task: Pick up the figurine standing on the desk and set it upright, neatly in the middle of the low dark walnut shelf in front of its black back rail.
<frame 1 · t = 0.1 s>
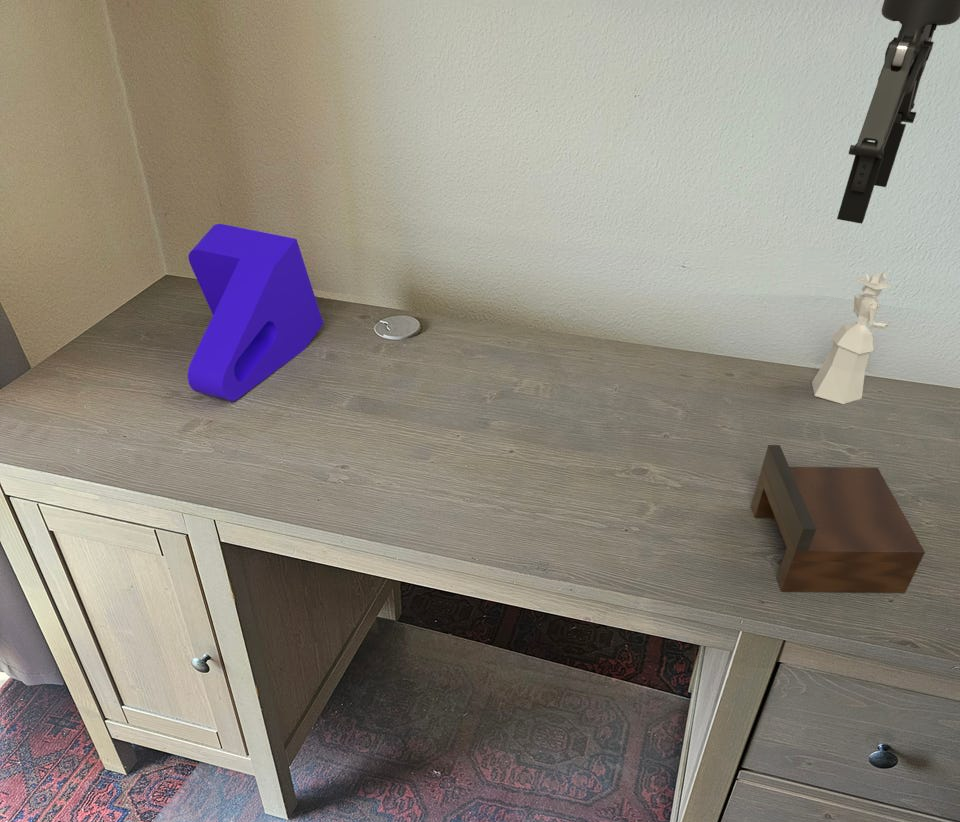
hand: (862, 202, 99), 30 cm above the table, tool pointing down, fingers open, 13 cm apart
bracket: (241, 365, 136), on the table
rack: (823, 547, 102), on the table
figurine: (834, 392, 129), on the table
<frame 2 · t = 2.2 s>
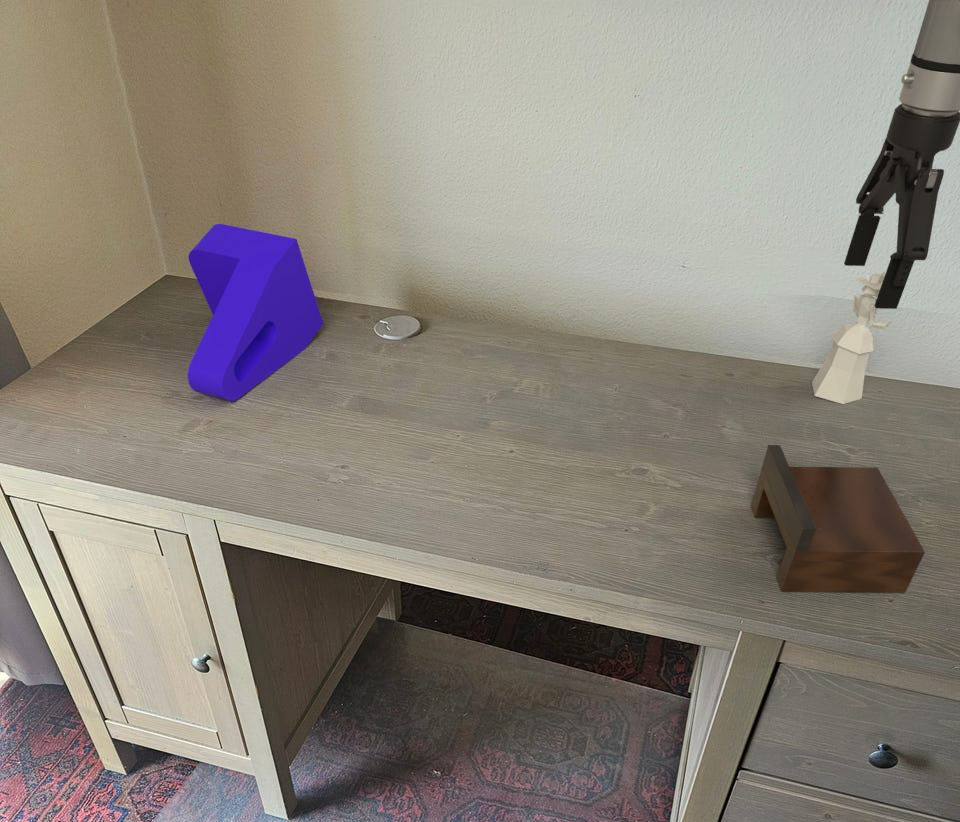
hand: (869, 285, 117), 16 cm above the table, tool pointing down, fingers open, 13 cm apart
nothing on the table moved.
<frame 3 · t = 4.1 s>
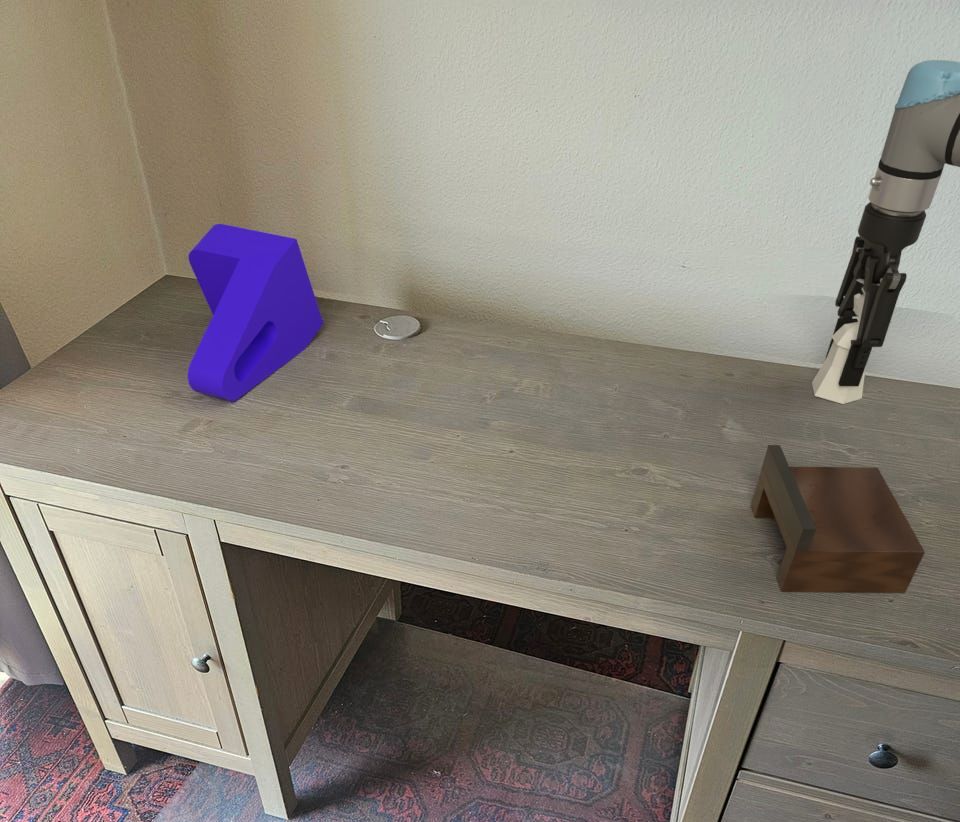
hand: (841, 372, 126), 3 cm above the table, tool pointing down, fingers closed on figurine, 6 cm apart
figurine: (834, 392, 129), on the table, touching gripper
everything else where it was.
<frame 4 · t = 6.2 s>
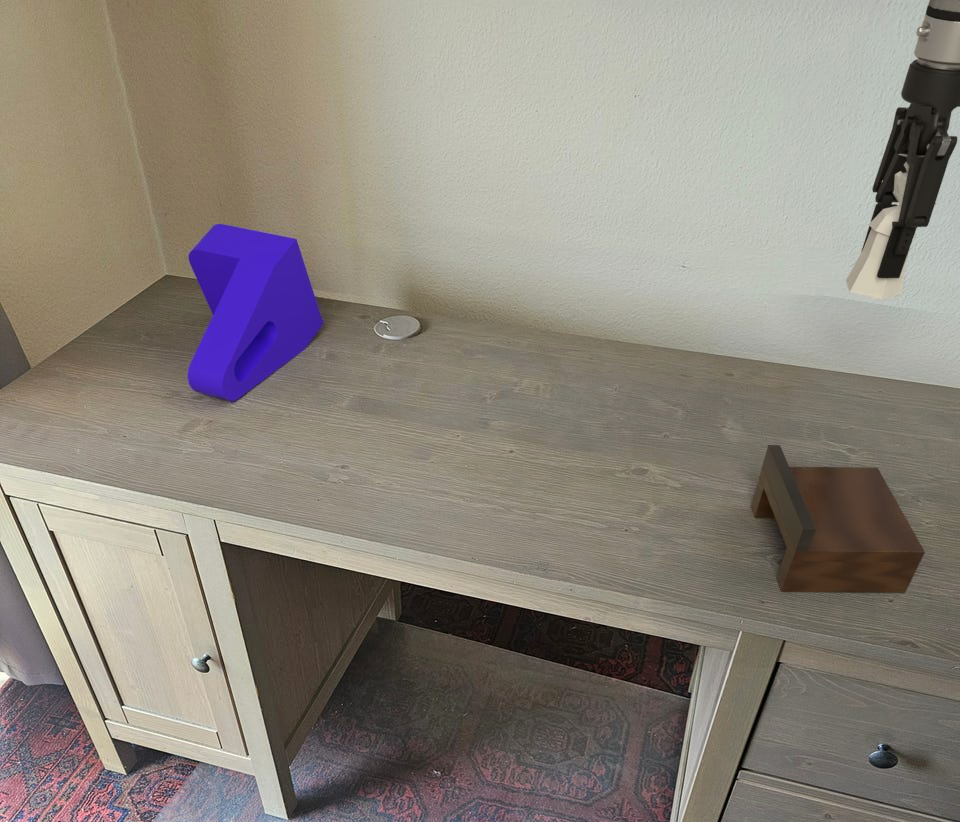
hand: (879, 265, 115), 19 cm above the table, tool pointing down, fingers closed on figurine, 6 cm apart
figurine: (871, 289, 117), point 16 cm above the table, touching gripper
everything else where it was.
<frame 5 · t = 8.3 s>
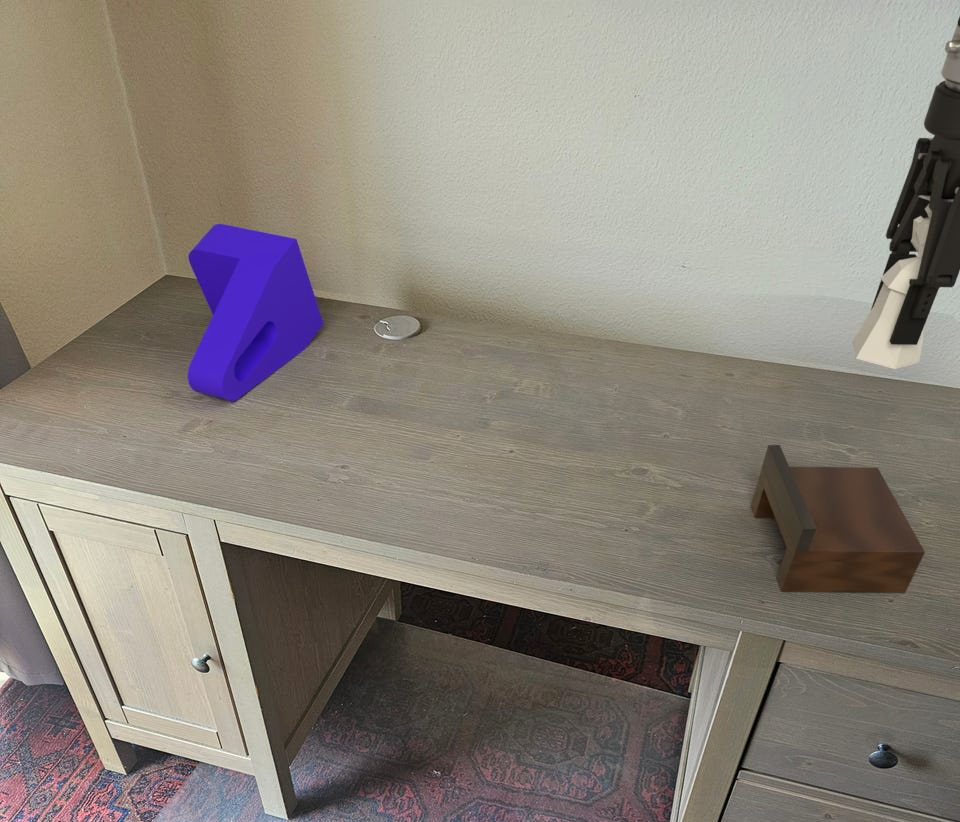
hand: (892, 327, 95), 22 cm above the table, tool pointing down, fingers closed on figurine, 6 cm apart
figurine: (882, 354, 97), point 19 cm above the table, touching gripper
everything else where it was.
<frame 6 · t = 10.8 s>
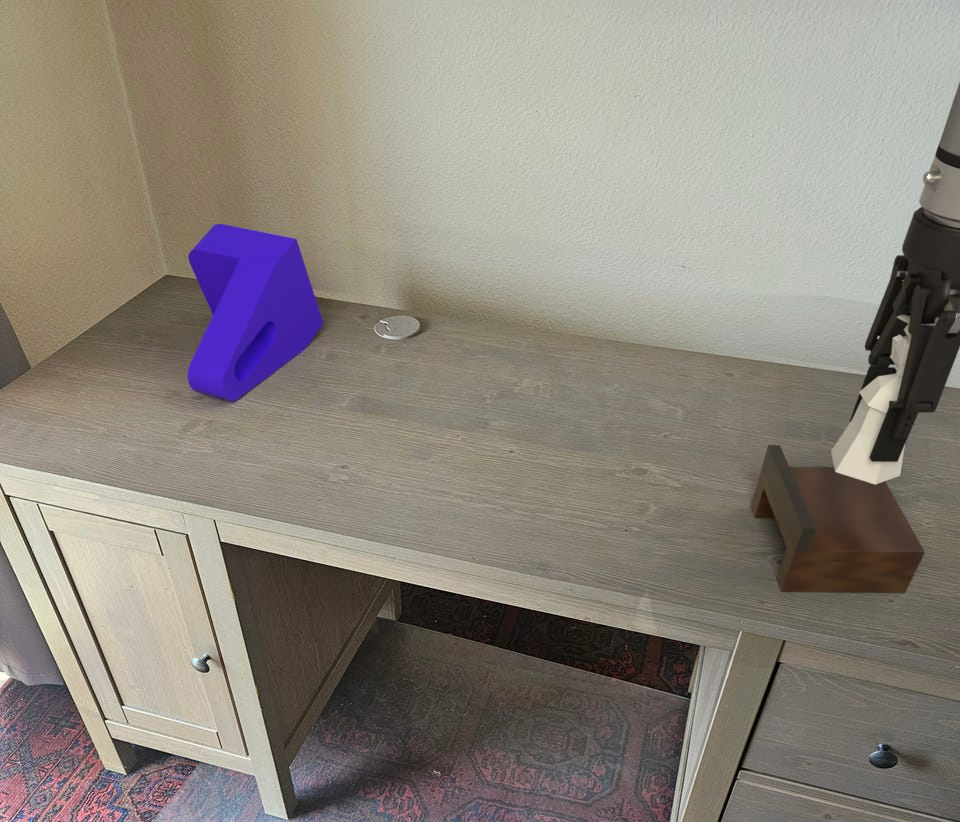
hand: (872, 440, 92), 15 cm above the table, tool pointing down, fingers closed on figurine, 6 cm apart
figurine: (862, 465, 94), point 12 cm above the table, touching gripper
everything else where it was.
when the fingers open (9 cm above the table, at t = 12.6 s): figurine stays where it is, resting on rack.
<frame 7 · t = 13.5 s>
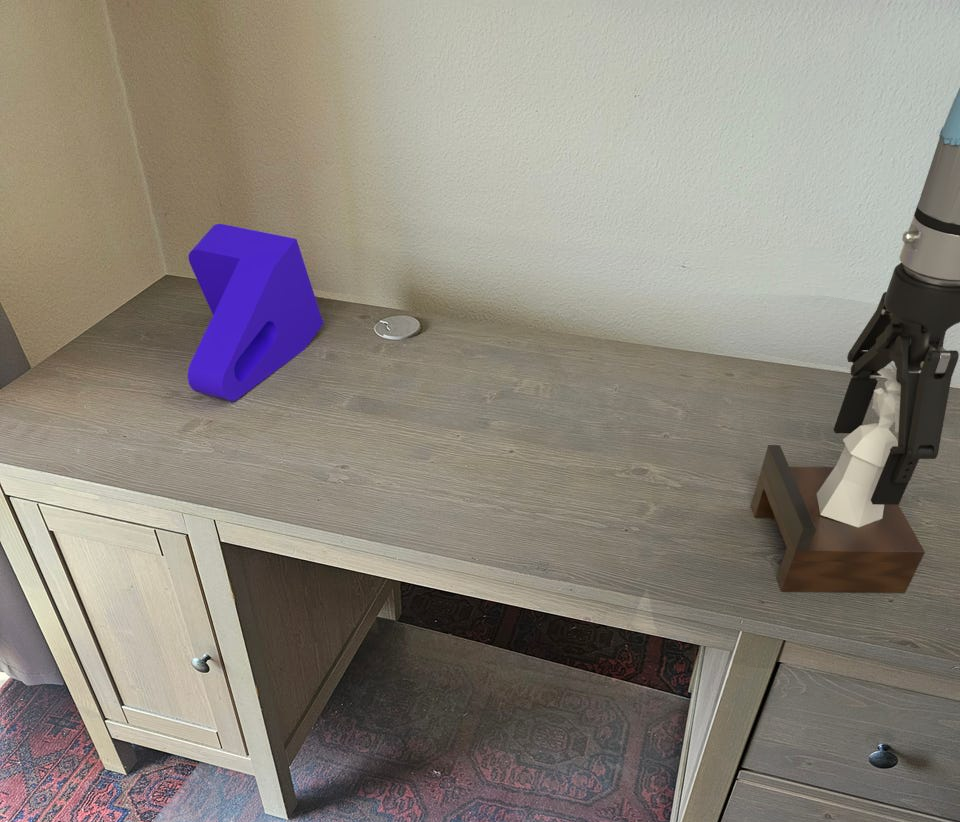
hand: (864, 465, 94), 12 cm above the table, tool pointing down, fingers open, 13 cm apart
figurine: (846, 508, 98), point 6 cm above the table, touching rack
everything else where it was.
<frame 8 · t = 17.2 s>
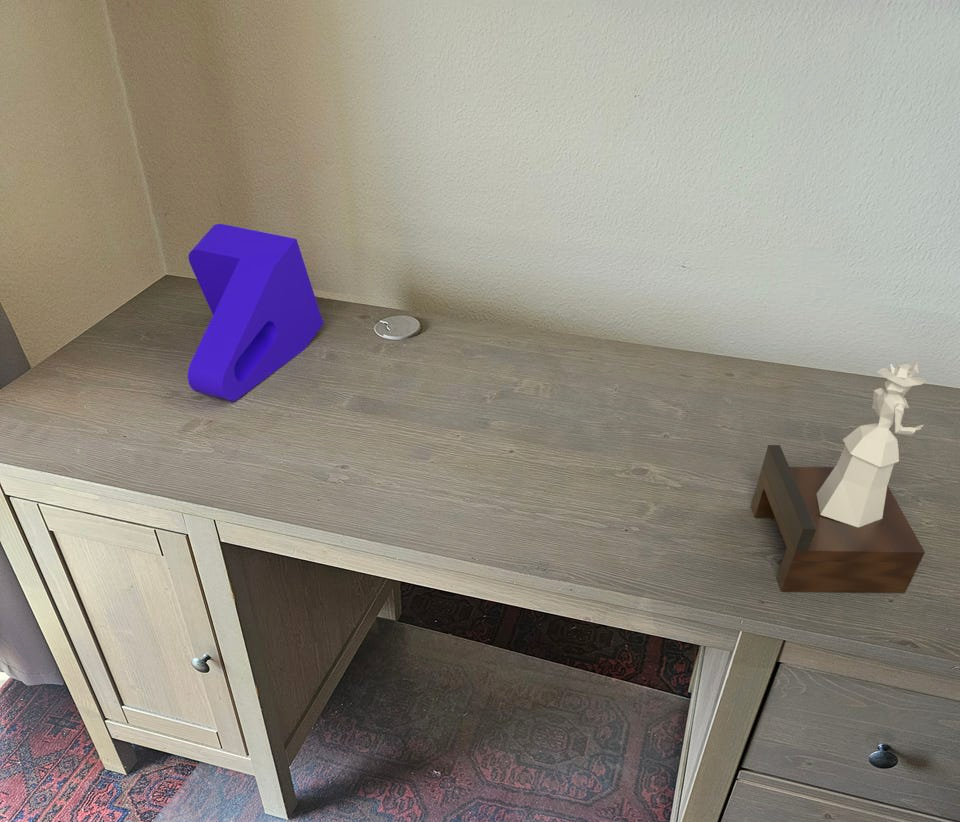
nothing on the table moved.
at the end: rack 0.0 cm off-centre on the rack, point 0.0 cm above the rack's base; figurine inside the target area on the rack (0.5 cm from its centre), point 5.8 cm above the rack's base; figurine tilted 0° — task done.
